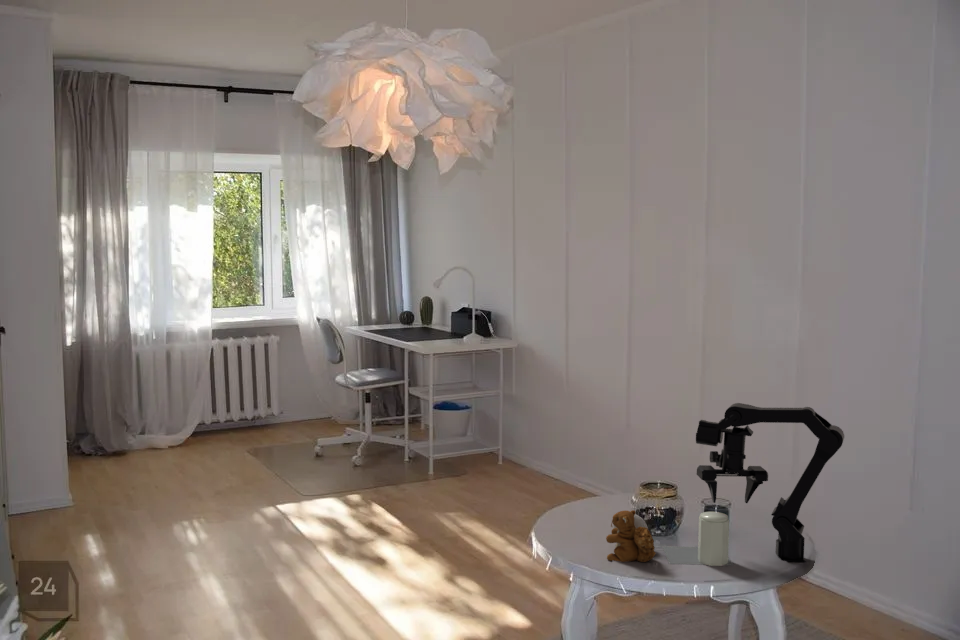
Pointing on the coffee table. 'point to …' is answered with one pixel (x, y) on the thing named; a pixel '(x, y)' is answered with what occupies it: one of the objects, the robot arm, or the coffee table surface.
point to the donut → (638, 522)
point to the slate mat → (684, 555)
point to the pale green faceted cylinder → (713, 538)
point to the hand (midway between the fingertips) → (730, 502)
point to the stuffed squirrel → (630, 539)
